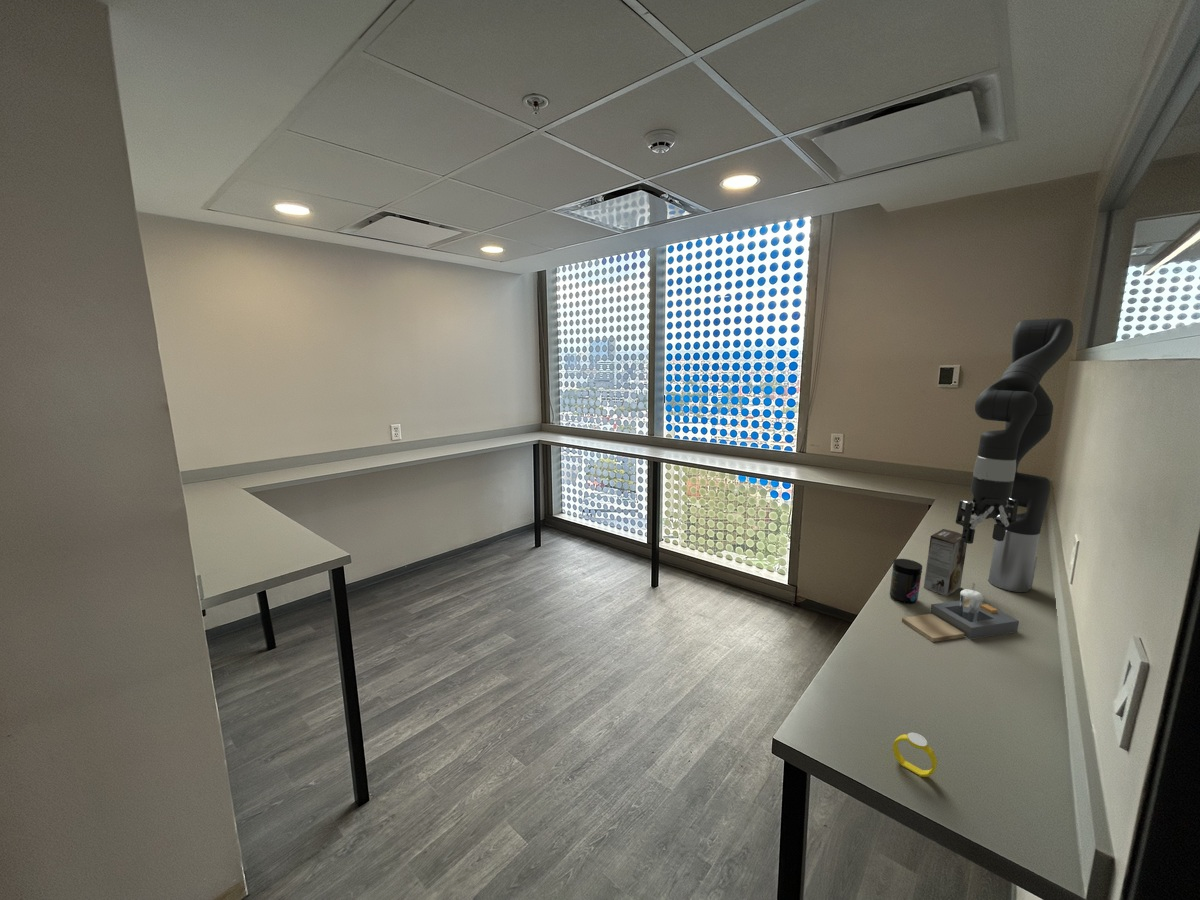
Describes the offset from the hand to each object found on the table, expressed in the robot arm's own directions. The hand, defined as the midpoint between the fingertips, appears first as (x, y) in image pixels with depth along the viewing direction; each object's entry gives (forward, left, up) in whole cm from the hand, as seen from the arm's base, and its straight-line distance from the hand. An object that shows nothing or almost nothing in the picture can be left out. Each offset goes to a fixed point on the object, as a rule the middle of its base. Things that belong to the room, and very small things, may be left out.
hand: (982, 541), depth 115 cm
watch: (+49, +33, -22) cm, 63 cm away
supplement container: (+6, -14, -22) cm, 27 cm away
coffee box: (-10, -17, -22) cm, 30 cm away
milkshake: (0, 0, -22) cm, 22 cm away
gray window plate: (-1, 0, -22) cm, 22 cm away
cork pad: (+10, 0, -22) cm, 25 cm away
